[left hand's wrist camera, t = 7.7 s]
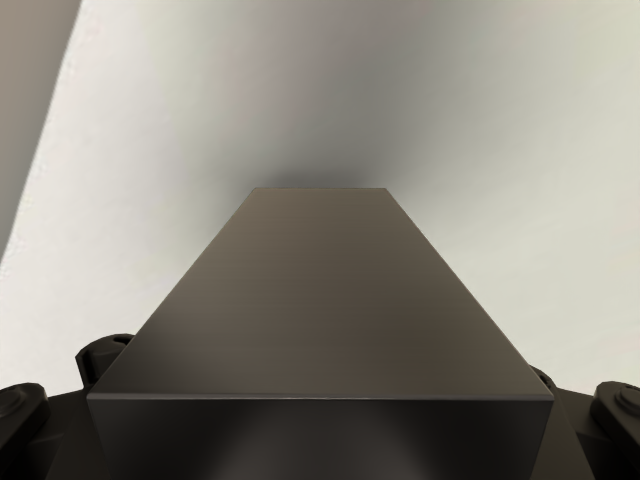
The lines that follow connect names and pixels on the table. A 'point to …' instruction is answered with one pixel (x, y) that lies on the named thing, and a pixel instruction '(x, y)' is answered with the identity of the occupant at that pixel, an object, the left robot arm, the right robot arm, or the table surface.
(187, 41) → the table surface
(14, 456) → the left robot arm
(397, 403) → the box
